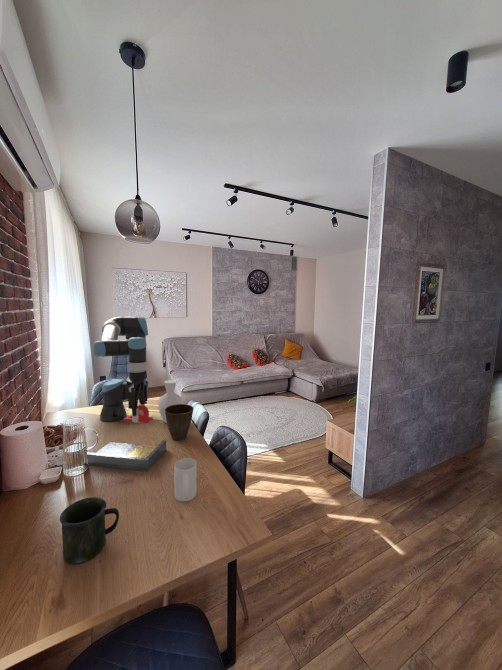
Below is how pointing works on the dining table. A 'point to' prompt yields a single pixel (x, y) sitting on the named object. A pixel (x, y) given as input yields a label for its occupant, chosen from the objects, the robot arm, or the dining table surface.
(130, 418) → the bracket
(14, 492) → the dining table surface
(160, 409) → the vase
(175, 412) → the plant pot
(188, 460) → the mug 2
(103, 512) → the mug
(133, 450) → the tray
